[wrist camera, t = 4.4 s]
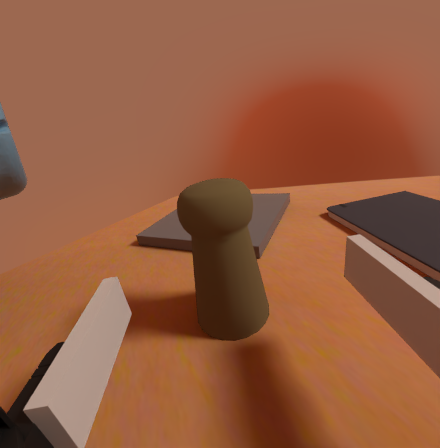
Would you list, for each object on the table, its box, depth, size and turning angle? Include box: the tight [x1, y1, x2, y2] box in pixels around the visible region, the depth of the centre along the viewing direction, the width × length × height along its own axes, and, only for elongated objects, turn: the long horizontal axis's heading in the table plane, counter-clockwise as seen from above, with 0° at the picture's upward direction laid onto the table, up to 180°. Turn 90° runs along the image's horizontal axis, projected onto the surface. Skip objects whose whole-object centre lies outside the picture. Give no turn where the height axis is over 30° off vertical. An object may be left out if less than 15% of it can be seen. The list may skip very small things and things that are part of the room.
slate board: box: [136, 193, 290, 258], centre depth 37 cm, size 18×18×2 cm
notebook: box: [327, 191, 440, 281], centre depth 25 cm, size 13×2×21 cm
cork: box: [177, 178, 269, 340], centre depth 18 cm, size 6×6×11 cm
